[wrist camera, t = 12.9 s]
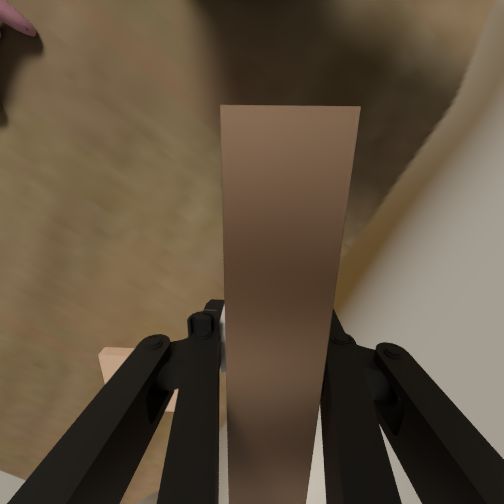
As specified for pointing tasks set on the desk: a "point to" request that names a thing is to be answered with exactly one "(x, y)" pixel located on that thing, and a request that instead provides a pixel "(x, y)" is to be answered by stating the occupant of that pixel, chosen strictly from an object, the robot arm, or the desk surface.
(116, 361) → the tile
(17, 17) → the video game controller
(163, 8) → the desk surface
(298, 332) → the wooden plank
